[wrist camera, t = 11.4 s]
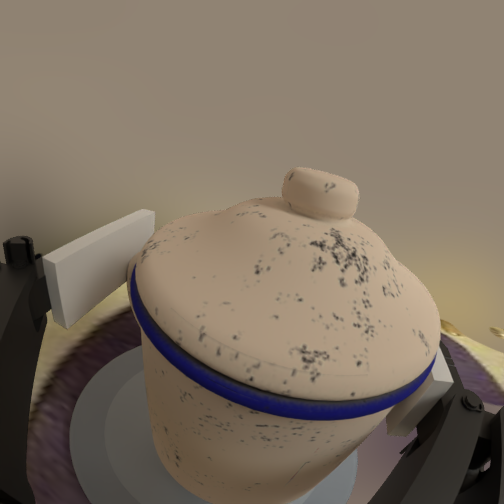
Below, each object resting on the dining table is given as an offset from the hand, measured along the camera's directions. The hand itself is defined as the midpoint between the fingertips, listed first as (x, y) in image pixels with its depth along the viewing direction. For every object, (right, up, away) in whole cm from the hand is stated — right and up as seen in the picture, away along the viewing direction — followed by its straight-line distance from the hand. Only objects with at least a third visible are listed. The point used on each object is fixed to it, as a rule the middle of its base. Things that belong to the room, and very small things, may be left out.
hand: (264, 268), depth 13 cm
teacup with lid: (-2, -7, -1) cm, 8 cm away
